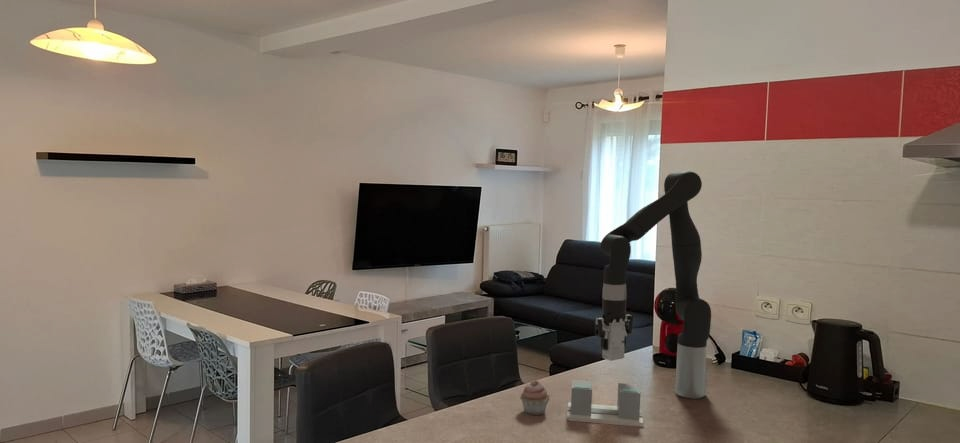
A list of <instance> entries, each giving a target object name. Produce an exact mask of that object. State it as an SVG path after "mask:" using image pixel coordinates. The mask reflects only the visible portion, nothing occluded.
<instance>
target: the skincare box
mask: <svg viewBox="0 0 960 443" xmlns="http://www.w3.org/2000/svg"><path fill="white" fill-rule="evenodd" d="M623 323H624V326H625V320H624V321H623ZM609 325H611V330H610V333H609V335H608V338H607V339H608V350H603V349H602V348H601V349H602V352H601V354H602V355H601V356H602V359H605V360H608V361H610V362H611V361H617V360H623V359H625V348H624V337H625V330H624V331H623V330H622V327H621V325H620V322H616V323H609ZM603 326H604V328H606V329H608V327H609V326H606V325H605V324H604V322H603V324H602V327H603ZM605 332H606V331H605ZM604 335H605V334H604Z"/></svg>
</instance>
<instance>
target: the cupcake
mask: <svg viewBox="0 0 960 443" xmlns="http://www.w3.org/2000/svg"><path fill="white" fill-rule="evenodd" d="M519 399H520V400H521V402H522V407H523V411H524V413H525V414H528V415H531V416H540V415H544V413H545V412H546V408H547V405H548V402H550V399H551V398H550V395H549V394H548V392H547V389H546V387H544V385H543V384H542V382H540V381H539V380H535V379H534V380H531V382H530V383H529V384H526V385H525V387H524V389H523V391H522V393H521V394H520V396H519Z"/></svg>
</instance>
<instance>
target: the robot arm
mask: <svg viewBox="0 0 960 443" xmlns="http://www.w3.org/2000/svg"><path fill="white" fill-rule="evenodd" d="M702 185H703V183H702V178H701V177H700V175H699V174H698V173H696V172H695V171H690V170H689V171H687V170H683V171H682V170H681V171H672V172H670V173H668V174H667V176H666V177H665V179H664V184H663V190H664V194H663V195H661V196H660V197H659V198H658V199H655V200H654V201H653V202H651V203H648V204H647V205H646V206H644V207H642V208H640V209H639V210H638V211H637V212H636V213H634V214H633V215H632V216H631V217H629V219H628V220H626V221H625V222H624V223H623V224H621V225H619V226H617V227H616V228H614V229H613V230H611V231H610V232H608V233H607V234H606V235H605V236H604V237H603V238H602V240H601V242H600V251H601V252H602V254H604V255H606V256H608V257H609V258H610V259H609V264H607V265H605V266H604V269H603V286H602V295H601V296H602V301H601V302H602V303H601V304H602V305H601V307H602V309H601V311H602V317H595V318H594V320H593V321H594V332H595V333H594V334H595V336H596V337H598V338H600V348H601V349H603V350H608V339H607V338H608V335H609V333H610V330H611V325H609V323H616V322H620V325H621V327H622V330H623V331H624V330H625V337H624V349H625V348H626V345H627V336H628V335H631V334H632V332H633V331H632V330H633V325H634V324H633V323H634V316H633V315H631V314H628V313H626V311H627V268H628V266H629V263H630V262H629V261H630V258H631V253H632V252H631V251H632V249H631V247H632V246H631V242H634V241H635V242H636V241H639V240H641V239H642V238H644V236H645V235H646V234H647V233H648V232H649V231H650V230H652V229H653V228H654V227H655V226H656V225H657V224H659V222H661V221H662V220H664V219H665V218H666V217H667V216H668V218H669V226H670V227H669V228H670V238H671V249H672V259H673V268H674V269H673V270H674V276H675V278H674V279H675V312H676V315H677V316H678V318H679V319H680V320H681V321H683V326H682V332H681V333H679V334H678V336H677V345H676V346H677V348H676V349H677V350H676V370H675V372H676V373H675V388H674V389H675V392H674V393H675V394H676V395H677V396H679V397H682V398H686V399H693V400H694V399H695V400H696V399H702V398H704V397H705V396H707V389H708V388H707V387H708V385H707V384H708V367H707V366H706V365H707V362H706V361H707V342H708V339H709V338H710V335H711V333H710V332H711V323H712V322H711V321H712V308H711V306H710V304H709V302H707V301H706V300H705V299H703V298H701V297H700V296H699V291H698V290H699V289H698V276H699V275H698V274H699V271H700V268H701V263H702V258H703V256H702V255H703V254H702V252H703V250H702V242H701V237H700V236H701V235H700V234H699V231H698V229H697V226H696V225H695V224H694V223H695V222H694V221H693V219H692V216H691V214H690V211H689V203H688V202H689V201H691V200H692V199H694V198H695V197H697V195H698V194H699V193H700V192H701V189H702V187H703V186H702ZM623 321H624V322H625V326H624V323H623ZM603 322H604V324H605V325H606V326H609V327H608V329H606V328H604V326H603ZM605 331H606V332H605ZM604 334H605V335H604Z"/></svg>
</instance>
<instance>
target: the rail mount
mask: <svg viewBox="0 0 960 443" xmlns="http://www.w3.org/2000/svg"><path fill="white" fill-rule="evenodd" d="M639 386H640V385H639V384H635V383H632V384H631V383H621V382H618V383H617V404H616V405H606V404H595V403H594V404H593V402H592V401H593V400H592V398H593V382H592V380H583V379H581V380H580V379H572V380H571V397H570V398H571V399H570V402H567V415H566V416H567V417H566V418H567V419H566V420H567V421H570V422H571V421H572V422H583V423H595V424H605V425H616V426H626V427H627V426H628V427H638V428H639V427H641V428H643V427H644V419H643V414H642V410H641V389H640V387H639Z"/></svg>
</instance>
